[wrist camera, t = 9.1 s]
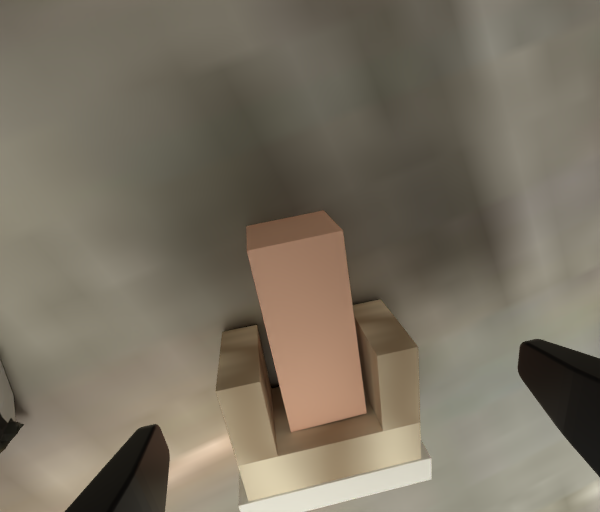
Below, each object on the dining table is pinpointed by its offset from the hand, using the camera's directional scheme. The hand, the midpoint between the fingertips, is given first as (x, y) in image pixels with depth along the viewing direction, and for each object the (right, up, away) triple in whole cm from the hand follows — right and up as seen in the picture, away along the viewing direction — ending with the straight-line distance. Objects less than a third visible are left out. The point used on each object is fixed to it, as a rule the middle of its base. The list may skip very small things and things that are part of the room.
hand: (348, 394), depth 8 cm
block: (-1, -3, +12) cm, 13 cm away
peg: (-1, +1, +11) cm, 11 cm away
